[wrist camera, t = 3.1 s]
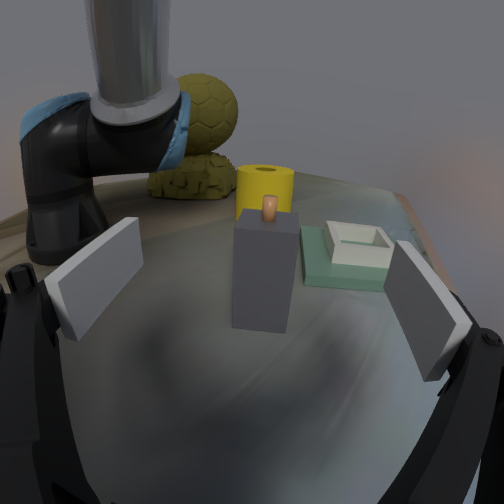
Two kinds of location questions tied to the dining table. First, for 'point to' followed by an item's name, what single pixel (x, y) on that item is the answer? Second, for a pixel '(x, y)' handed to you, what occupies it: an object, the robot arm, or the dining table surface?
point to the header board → (345, 256)
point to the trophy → (202, 144)
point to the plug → (264, 267)
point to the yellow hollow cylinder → (263, 187)
